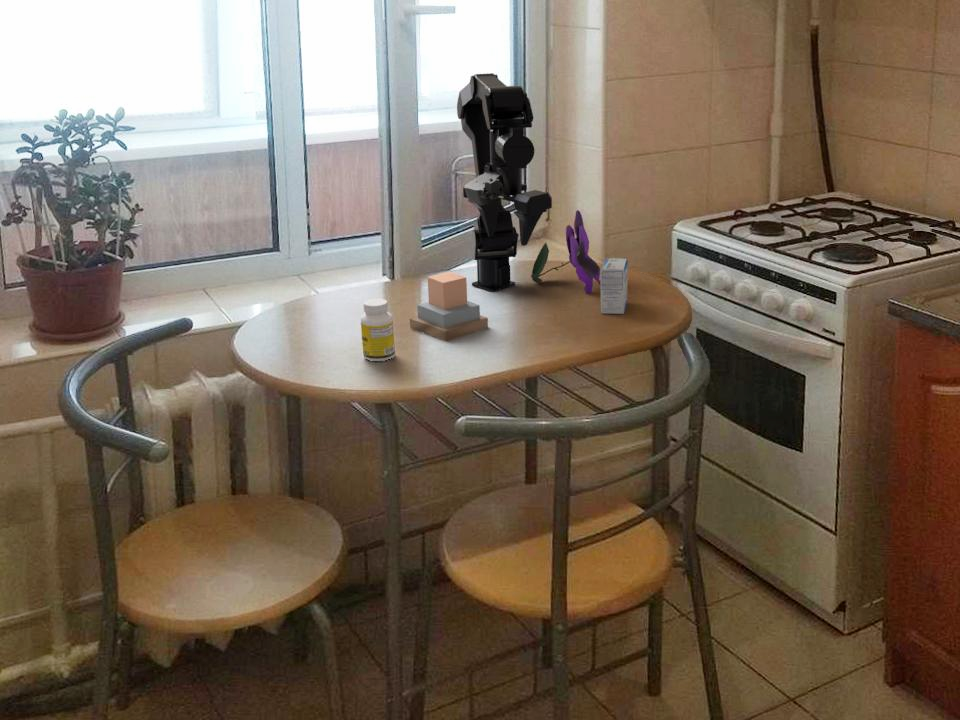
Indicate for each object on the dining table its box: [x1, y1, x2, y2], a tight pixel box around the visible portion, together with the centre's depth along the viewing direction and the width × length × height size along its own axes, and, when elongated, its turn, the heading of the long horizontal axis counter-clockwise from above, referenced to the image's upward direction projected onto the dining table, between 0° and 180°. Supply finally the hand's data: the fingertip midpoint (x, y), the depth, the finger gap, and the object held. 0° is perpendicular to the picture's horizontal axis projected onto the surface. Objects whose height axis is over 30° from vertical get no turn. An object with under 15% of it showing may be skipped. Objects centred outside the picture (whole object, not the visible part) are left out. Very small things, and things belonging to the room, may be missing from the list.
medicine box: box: [600, 257, 629, 315], centre depth 209 cm, size 8×4×9 cm, turn 168°
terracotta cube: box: [427, 271, 468, 310], centre depth 201 cm, size 5×5×5 cm
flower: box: [530, 209, 601, 294], centre depth 223 cm, size 15×15×14 cm
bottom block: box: [409, 314, 489, 342], centre depth 202 cm, size 10×10×2 cm
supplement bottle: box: [360, 298, 396, 362], centre depth 187 cm, size 5×5×10 cm
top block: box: [417, 300, 481, 328], centre depth 201 cm, size 8×8×2 cm
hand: (507, 240), depth 208 cm, fingers open, 9 cm apart
